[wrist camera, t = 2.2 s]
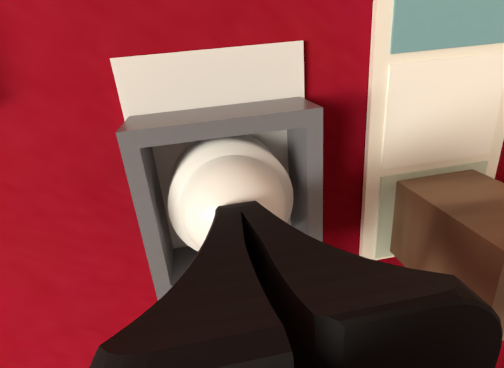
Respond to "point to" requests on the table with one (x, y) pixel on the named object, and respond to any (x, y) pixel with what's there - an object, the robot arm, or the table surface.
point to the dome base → (214, 131)
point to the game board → (429, 101)
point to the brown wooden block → (453, 230)
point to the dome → (224, 184)
